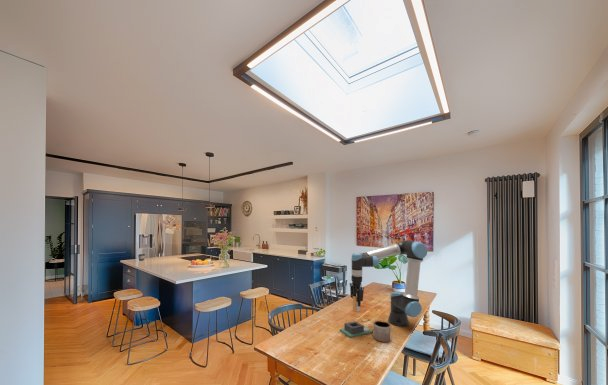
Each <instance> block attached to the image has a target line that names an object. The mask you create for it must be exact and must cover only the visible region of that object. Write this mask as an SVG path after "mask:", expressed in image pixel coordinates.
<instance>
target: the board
mask: <svg viewBox="0 0 608 385" xmlns="http://www.w3.org/2000/svg"><path fill="white" fill-rule="evenodd" d="M339 332H341V333H342V334H344V336H346V337H347V338H349V339H352V338H357V337H361V336H366V335H372V334H374V330H371V329H370V328H368V327H367V326H365V325H363V324H362V323H359V322H358V321H357V320H356V321H355V320H354V321H349V322H344V327H342V328H339Z"/></svg>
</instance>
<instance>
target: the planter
mask: <svg viewBox="0 0 608 385" xmlns="http://www.w3.org/2000/svg"><path fill="white" fill-rule="evenodd" d="M373 338H374V339H375V340H376V341H377V342H381V343H389V342H390V341H391V323H390V322H386V321H384V320H377V321H376V320H375V321H374V322H373Z"/></svg>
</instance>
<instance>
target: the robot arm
mask: <svg viewBox="0 0 608 385" xmlns="http://www.w3.org/2000/svg"><path fill="white" fill-rule="evenodd" d="M395 255H396V256H400V255H401V256H402V255H405V256H406V259H407V268H406V276H405V277H406V279H405V286H404V287H405V289H404V292H403V291H391V293H390V312H389V316H388V323H389V324H390V325H394V326H396V327H407V326H409V324H410V320H409V318H408V316H409V317H410V318H416V317H418V316H420V314H421V313H422V310H423V309H422V308H423V307H422V305H421V303H420V297H419V296H418V292H419V290H418V289H419V282H420V281H419V280H420V272H421V263H422V262H424V259H425V258H426V256H428V247H427V246H426V245H425V244H424V243H423V242H420V241H416V240H415V241H414V240H408V239H407V240H402V241H399V242H395V243H393V244H392V245H388V246H385V247H380V248H378V249H373V250H369V251H367V252H358V253H357V252H354V253H351V258H350V259H351V276H350V278H351V282H350V283H349V287H350V298H352V300H353V296H357V305H356V311H360V312H361V302H363V301H364V290H365V286H363V285H362V282H363V268H376V267H378V265H379V260H382V259H384V258H389V257H391V256H395Z"/></svg>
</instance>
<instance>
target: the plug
mask: <svg viewBox="0 0 608 385" xmlns="http://www.w3.org/2000/svg"><path fill="white" fill-rule="evenodd" d="M352 296H353V295H352ZM356 305H357V295H356V296H353V299H352V312H353V313H361V310H360V311H356Z"/></svg>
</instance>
